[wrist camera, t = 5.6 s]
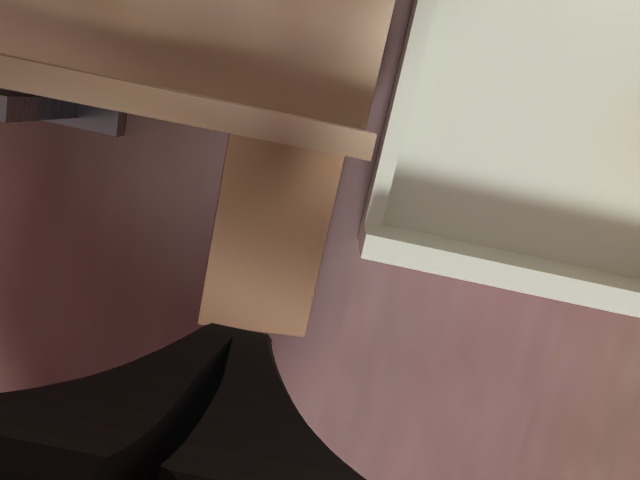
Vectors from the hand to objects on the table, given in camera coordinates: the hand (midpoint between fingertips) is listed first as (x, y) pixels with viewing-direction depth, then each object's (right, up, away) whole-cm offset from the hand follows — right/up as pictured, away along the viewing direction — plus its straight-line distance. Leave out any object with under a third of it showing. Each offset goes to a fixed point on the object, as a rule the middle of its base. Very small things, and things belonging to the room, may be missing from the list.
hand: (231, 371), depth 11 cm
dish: (+9, +7, +5) cm, 12 cm away
